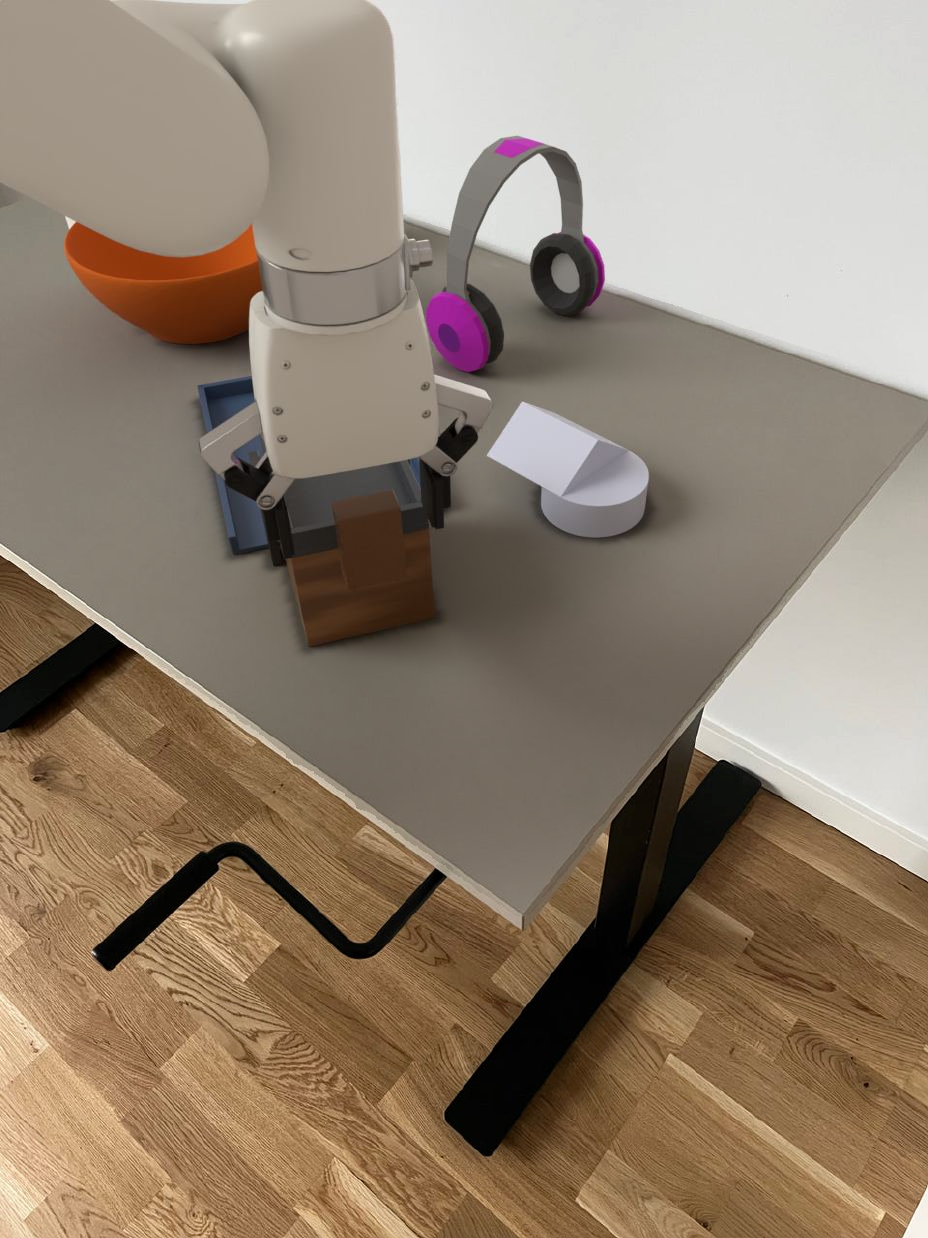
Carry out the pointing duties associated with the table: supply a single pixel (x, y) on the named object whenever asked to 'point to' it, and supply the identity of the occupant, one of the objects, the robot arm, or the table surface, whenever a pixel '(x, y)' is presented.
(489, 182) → the headphones
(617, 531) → the wedge on round base
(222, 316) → the bowl
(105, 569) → the table surface
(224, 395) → the tray
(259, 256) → the robot arm
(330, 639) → the stand
